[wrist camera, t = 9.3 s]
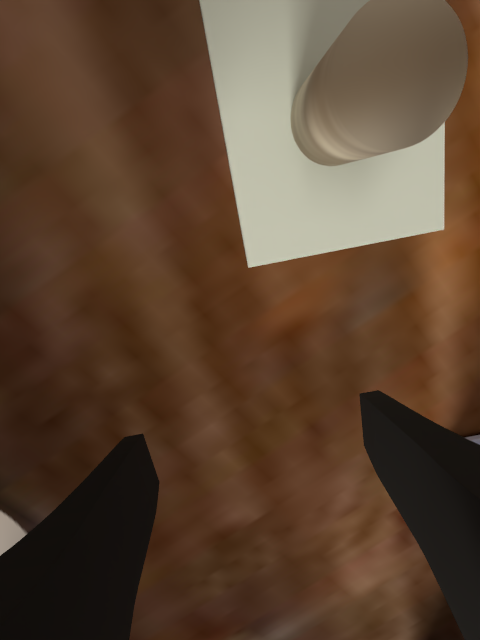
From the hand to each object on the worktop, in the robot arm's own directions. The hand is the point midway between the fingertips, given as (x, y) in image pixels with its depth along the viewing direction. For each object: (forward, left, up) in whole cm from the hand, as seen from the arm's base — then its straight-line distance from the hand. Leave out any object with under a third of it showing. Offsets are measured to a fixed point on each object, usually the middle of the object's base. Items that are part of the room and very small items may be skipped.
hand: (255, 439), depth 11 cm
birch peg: (+10, -6, -8) cm, 14 cm away
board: (+10, -6, -9) cm, 15 cm away
